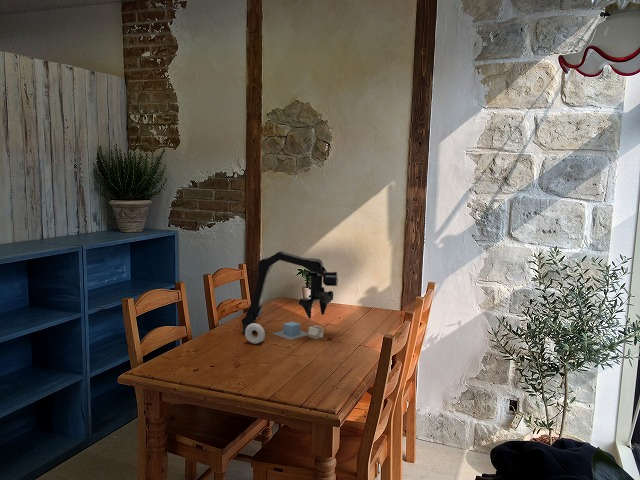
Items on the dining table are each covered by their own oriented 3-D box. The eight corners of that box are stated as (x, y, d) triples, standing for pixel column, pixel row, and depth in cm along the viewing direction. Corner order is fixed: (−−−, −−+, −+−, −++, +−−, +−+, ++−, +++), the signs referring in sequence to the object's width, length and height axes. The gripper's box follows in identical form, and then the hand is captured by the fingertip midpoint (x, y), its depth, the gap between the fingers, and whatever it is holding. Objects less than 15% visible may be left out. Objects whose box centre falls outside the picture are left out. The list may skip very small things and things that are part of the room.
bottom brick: (291, 336, 258) (291, 326, 257) (283, 333, 262) (283, 323, 261) (300, 333, 262) (300, 324, 261) (292, 331, 266) (292, 321, 265)
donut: (243, 343, 249) (243, 323, 248) (246, 341, 252) (246, 321, 251) (263, 345, 246) (263, 325, 245) (266, 343, 249) (266, 323, 248)
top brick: (315, 341, 254) (316, 329, 253) (308, 339, 257) (308, 327, 256) (322, 339, 257) (323, 327, 257) (315, 336, 261) (315, 325, 260)
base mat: (290, 342, 252) (290, 340, 252) (271, 335, 262) (271, 333, 262) (311, 335, 262) (311, 333, 262) (292, 329, 272) (292, 327, 272)
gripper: (314, 291, 242) (314, 323, 244) (341, 284, 255) (341, 315, 257) (298, 287, 249) (298, 319, 251) (324, 281, 263) (324, 311, 265)
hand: (316, 316), depth 256 cm, fingers open, 9 cm apart
